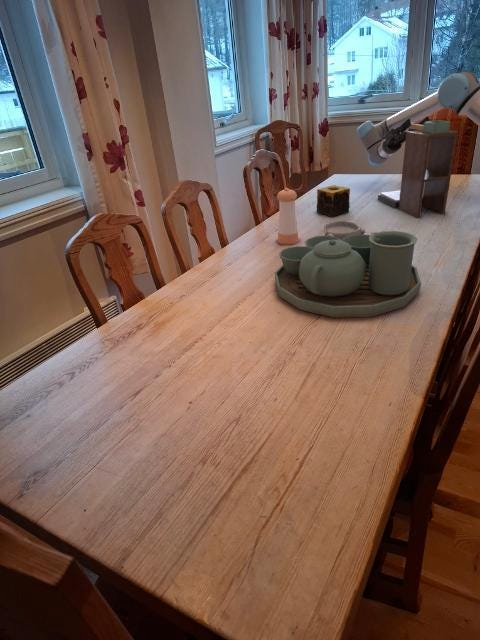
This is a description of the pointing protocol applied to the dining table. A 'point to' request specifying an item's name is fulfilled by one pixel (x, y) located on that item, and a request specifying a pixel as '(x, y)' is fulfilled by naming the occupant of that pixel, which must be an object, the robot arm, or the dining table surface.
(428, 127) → the scoop
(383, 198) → the whiteboard
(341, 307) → the tea set
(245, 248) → the dining table surface
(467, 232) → the dining table surface
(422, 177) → the shelf
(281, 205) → the pepper shaker
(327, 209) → the candle
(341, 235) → the dish
